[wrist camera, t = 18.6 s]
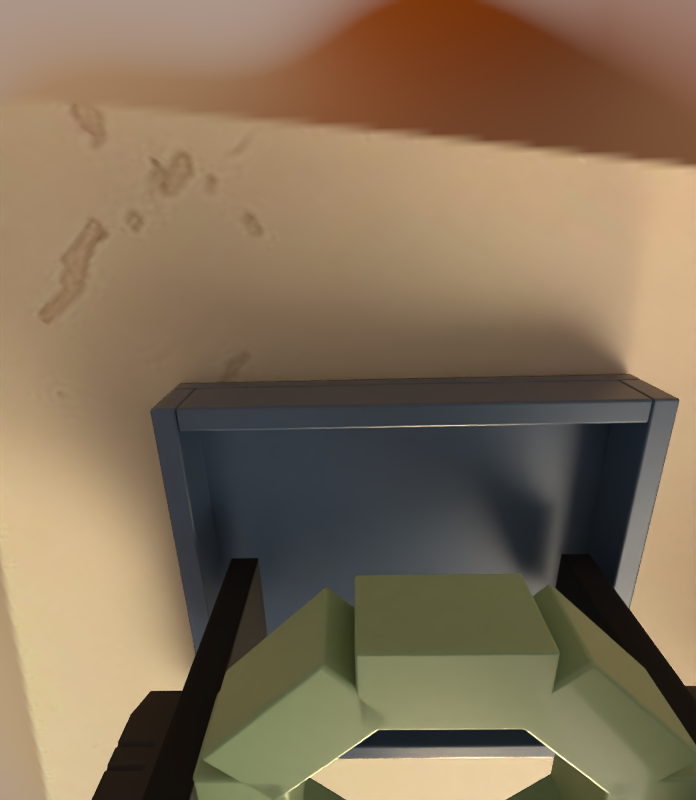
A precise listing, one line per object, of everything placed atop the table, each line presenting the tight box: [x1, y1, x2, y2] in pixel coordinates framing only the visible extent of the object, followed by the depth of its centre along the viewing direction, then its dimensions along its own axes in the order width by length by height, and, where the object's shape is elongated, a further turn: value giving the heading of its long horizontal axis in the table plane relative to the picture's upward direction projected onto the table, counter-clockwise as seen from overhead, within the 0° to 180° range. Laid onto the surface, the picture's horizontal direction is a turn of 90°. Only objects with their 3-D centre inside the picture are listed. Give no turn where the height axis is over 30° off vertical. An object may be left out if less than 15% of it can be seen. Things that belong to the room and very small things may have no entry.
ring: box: [193, 574, 696, 800], centre depth 9 cm, size 8×8×2 cm
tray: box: [151, 374, 679, 759], centre depth 14 cm, size 12×12×2 cm
